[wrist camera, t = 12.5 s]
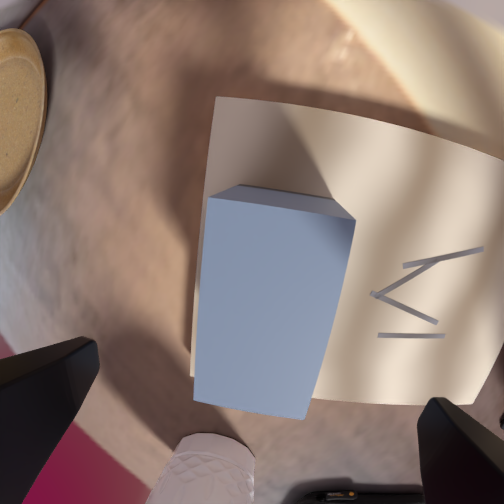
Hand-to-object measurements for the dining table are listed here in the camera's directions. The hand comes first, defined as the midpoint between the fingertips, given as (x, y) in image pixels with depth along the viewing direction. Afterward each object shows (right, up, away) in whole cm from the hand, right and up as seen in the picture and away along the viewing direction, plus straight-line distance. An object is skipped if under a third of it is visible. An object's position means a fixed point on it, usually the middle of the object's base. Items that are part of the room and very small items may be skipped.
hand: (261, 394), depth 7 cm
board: (+7, +2, +10) cm, 12 cm away
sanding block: (+1, +3, +9) cm, 9 cm away
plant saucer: (-20, +13, +11) cm, 26 cm away
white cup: (-3, -14, +16) cm, 21 cm away
